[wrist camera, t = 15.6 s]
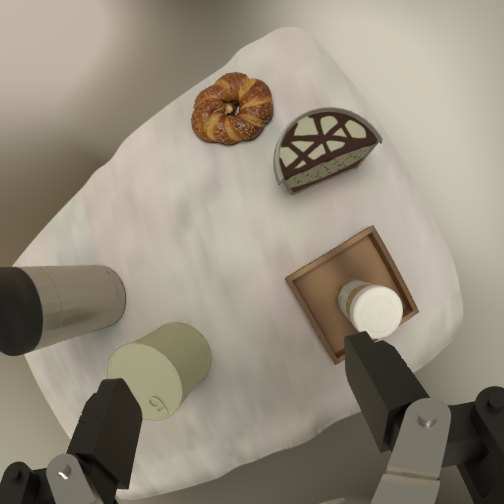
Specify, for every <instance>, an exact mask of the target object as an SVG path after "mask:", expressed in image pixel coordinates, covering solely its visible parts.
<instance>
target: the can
mask: <svg viewBox="0 0 504 504" xmlns="http://www.w3.org/2000/svg"><path fill="white" fill-rule="evenodd" d="M210 366H211V352H210V348H209V346H208V344H207V342H206V340H205V339H204V337H203V336H202V335H201V334H200V333H199V332H198V331H197V330H195V329H194V328H192V327H190V326H188V325H185V324H182V323H169V324H166V325H164V326H162V327H160V328H159V329H158V330H156V331H155V332H153V333H151V334H148V335H146V336H144V337H142V338H140V339H138V340H136V341H134V342H132V343H129V344H125V345H123V346H121V347H120V348H118V349H117V350H116V351H115V352H114V353H113V355H112V356H111V358H110V361H109V364H108V379H115V378H122V379H124V380H125V382H126V383H127V385H128V387H129V388H130V390H131V392H132V393H133V395H134V397H135V398H136V400H137V402H138V403H139V405H140V407H141V410H142V418H143V419H147V420H162V419H165V418H168V417H170V416H171V415H173V414H174V413H175V412H176V411H177V410H178V408H179V406H180V405H181V403H182V402H183V401H184V399H185V398H186V397H187V396H188V394H189V393H190V392H191V391H192V390H193V388H194V387H195V386H196V385H197V384H198V382H200V381H201V380H202V379H203V378H204V377H205V376H206V375H207V373H208V371H209V369H210Z"/></svg>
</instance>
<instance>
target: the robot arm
mask: <svg viewBox="0 0 504 504" xmlns="http://www.w3.org/2000/svg"><path fill="white" fill-rule="evenodd" d="M125 301H126V300H125V291H124V287H123V284H122V282H121V280H120V278H119V277H118V275H117V274H116V273H115V272H114V271H113V270H111V269H110V268H108V267H106V266H101V265H89V266H84V265H83V266H36V267H0V351H1V352H2V353H4V354H6V355H9V356H18V355H22V354H25V353H28V352H31V351H34V350H38V349H41V348H44V347H47V346H49V345H53V344H56V343H59V342H62V341H65V340H68V339H71V338H74V337H77V336H80V335H83V334H86V333H89V332H92V331H95V330H98V329H101V328H104V327H107V326H110V325H112V324H114V323H116V322H117V321H118V320H119V319H120V317H121V316H122V314H123V311H124V308H125ZM344 347H345V370H346V376H347V379H348V382H349V385H350V387H351V389H352V391H353V393H354V396H355V398H356V400H357V402H358V404H359V406H360V409H361V411H362V413H363V415H364V417H365V420H366V422H367V424H368V426H369V428H370V431H371V433H372V435H373V437H374V439H375V442H376V444H377V446H378V448H379V451H380V453H382V452H385V451H388V450H391V453H392V455H391V458H390V460H389V463H388V466H387V468H386V471H385V472H384V474H383V476H382V479H381V481H380V483H379V486H378V488H377V490H376V493H375V495H374V497H373V499H372V501H371V504H434V503H435V500H436V497H437V493H438V490H439V485H440V479H439V473H440V469H441V468H442V467H447V466H453V465H456V466H457V468H458V469H459V472H460V474H461V476H462V478H463V480H464V482H465V485H466V487H467V489H468V491H469V493H470V495H471V497H472V500H473V502H474V504H504V388H502V387H498V386H497V387H496V386H493V387H488V388H486V389H484V390H482V391H481V392H480V393H479V394H478V396H477V398H476V400H475V401H474V402H469V403H464V404H458V405H446V404H445V403H444V402H442V401H440V400H438V399H434V398H430V397H429V396H428V394H427V393H426V391H425V390H424V388H423V387H422V385H421V384H420V383H419V381H418V380H417V379H416V377H415V375H414V374H413V373H412V371H411V370H410V368H409V367H407V364H406V363H405V361H404V360H403V359H402V358H401V356H400V354H399V353H398V351H397V350H396V349H395V347H393V346H392V345H390V344H388V343H387V342H385V341H383V340H382V341H378V342H375V343H374V341H373V340H372V338H371V337H370V335H369V334H368V333H367V331H362V332H359V333H355V334H352V335H348V336H345V338H344ZM78 422H79V423H78V424H77V426H76V429H75V431H74V434H73V437H72V439H71V442H70V445H69V447H68V450H67V453H66V454H61V455H58V456H56V457H55V458H53V459H52V460H51V462H50V463H49V464H48V467H47V468H44V469H38V470H31V469H30V468H29V467H28V466H27V465H26V464H25V463H23V462H15V463H12V464H11V465H9V466H8V468H7V469H6V470H5V472H4V475H3V477H2V480H1V483H0V504H122V503H121V501H120V499H119V498H118V497H117V496H116V490H117V489H129V484H130V478H131V473H132V468H133V462H134V457H135V452H136V448H137V443H138V438H139V433H140V429H141V424H142V410H141V407H140V405H139V403H138V402H137V400H136V398H135V397H134V395H133V393H132V392H131V390H130V388H129V387H128V385H127V383H126V382H125V380H124V379H122V378H115V379H104V380H102V382H101V384H100V386H99V389H98V391H97V393H94V394H93V395H92V396H91V397H90V399H89V400H88V401H87V402H86V404H85V406H84V409H83V411H82V415H81V416H80V418H79V421H78Z"/></svg>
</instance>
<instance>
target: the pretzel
mask: <svg viewBox="0 0 504 504" xmlns="http://www.w3.org/2000/svg"><path fill="white" fill-rule="evenodd" d="M236 105H239V106H240V108H239V113H238V114H237V115H236V116H235V110H236V108H237V106H236ZM272 114H273V104H272V97H271V92H270V89H269V87H268V86H267V85H266V84H265V83H264V82H263V81H261V80H258V79H249V78H248V77H247V75H246V74H242V73H238V72H237V73H236V72H235V73H228V74H225V75H223V76H222V77H221V78H219V79H218V80H217V81H216V82H215V84H214V85H212V86H209V87H208V88H206V89H204V90H203V91H201V92H200V93H199V95H198V96H197V97H196V99H195V104H194V111H193V114H192V118H191V122H192V129H193V131H194V133H195V134H196V135H197V136H198V137H199V138H201V139H202V140H205V141H208V142H220V143H223V144H226V145H231V144H236V143H237V142H240V141H242V140H250V139H253V138H255V137H256V136H257V135H258V134H259V133H260V132H261V130H262V129H263V127H264V123H265V122H268V121H269V120H270V119H271V117H272Z"/></svg>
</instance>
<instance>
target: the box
mask: <svg viewBox="0 0 504 504" xmlns="http://www.w3.org/2000/svg"><path fill="white" fill-rule="evenodd" d="M354 278H355V279H358V280H361V281H364V282H367V283H370V284H373V285H381V286H385V287H387V288H389V289H391V290H393V291H394V292H395V293H396V294H397V295H398V296H399V298H400V300H401V302H402V307H403V315H402V319H401V322H400V324H399V326H400V325H401V324H403V323H404V322H406V321H407V320H409V319H410V318H411V317H413V316H414V315H416V314H417V313H419V310H418V308H417V306H416V304H415V302H414V300H413V298H412V296H411V294H410V292H409V290H408V288H407V286H406V284H405V282H404V280H403V278H402V276H401V274H400V272H399V270H398V269H397V267H396V265H395V263H394V261H393V259H392V257H391V256H390V254H389V252H388V250H387V248H386V246H385V245H384V243H383V241H382V239H381V238H380V236H379V234H378V232H377V231H376V229H375V227H374V226H373V225H372V226H370V227H368V228H366V229H365V230H363V231H361V232H360V233H358V234H357V235H355V236H353V237H352V238H350V239H349V240H347V241H345V242H344V243H342V244H341V245H339V246H337V247H336V248H334V249H332V250H331V251H329V252H327V253H326V254H324V255H323V256H321V257H319V258H318V259H316V260H314V261H313V262H311V263H309V264H308V265H306V266H304V267H303V268H301V269H299V270H298V271H296V272H294V273H293V274H291V275H289V276H287V277H286V278H285V279H286V281H287V283H288V285H289V286H290V288H291V290H292V291H293V293H294V295H295V296H296V298H297V300H298V302H299V303H300V305H301V307H302V308H303V310H304V312H305V314H306V315H307V317H308V319H309V320H310V322H311V324H312V326H313V327H314V329H315V331H316V333H317V334H318V336H319V338H320V339H321V341H322V343H323V345H324V346H325V348H326V350H327V352H328V353H329V355H330V357H331V359H332V360H333V362H334V364H335V365H336V364H338V363H340V362H342V361H343V360H345V347H344V338H345V336H348V335H352V334H355V333H359V331H358V330H357V329H356V328H355V327H354V326H353V324H352V322H351V321H350V320H349V319H348V318H347V317H346V316H345V315H344V313H343V312H342V311H341V310H340V309H339V308H338V307H337V305H336V303H335V292H336V289H337V287H338V286H339V285H340V284H341V283H342V282H343V281H345V280H347V279H354ZM372 340H373V341H374V342H375V341H377V340H378V339H372Z"/></svg>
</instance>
